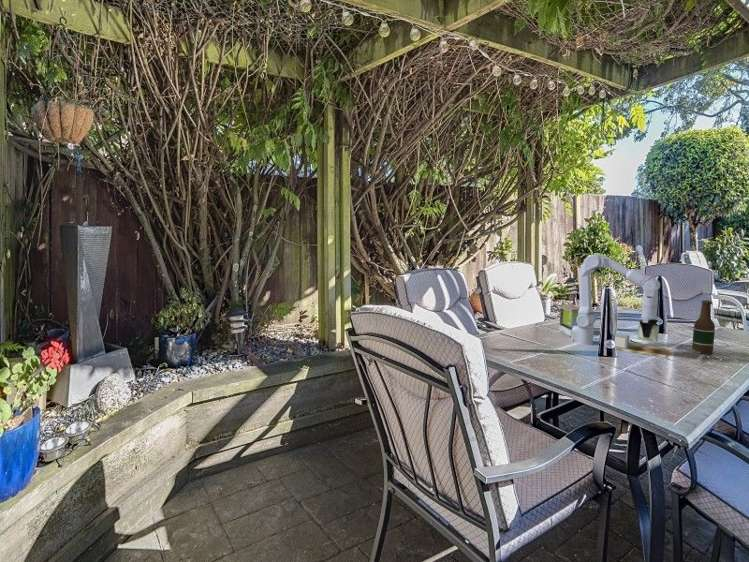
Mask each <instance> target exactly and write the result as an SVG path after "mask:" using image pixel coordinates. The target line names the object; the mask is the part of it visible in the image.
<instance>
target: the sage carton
mask: <svg viewBox="0 0 749 562" xmlns="http://www.w3.org/2000/svg"><path fill="white" fill-rule="evenodd" d="M637 327H638V329H637V340H639V341H644V342H645V341H647V342H652V343H653V342H654V343H657V342H658V340H659V330H660V325H657V324H656V325H653V327H652V329H651V333H650V337H649V338H646V337H643V332H642V327H641V325H640V324H638V326H637Z"/></svg>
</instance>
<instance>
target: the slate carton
mask: <svg viewBox="0 0 749 562" xmlns="http://www.w3.org/2000/svg"><path fill="white" fill-rule="evenodd" d="M615 333H616V335H615V342H616V348H621V349H629V343H630V337H631V335H630V334H626V333H619V332H615Z"/></svg>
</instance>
